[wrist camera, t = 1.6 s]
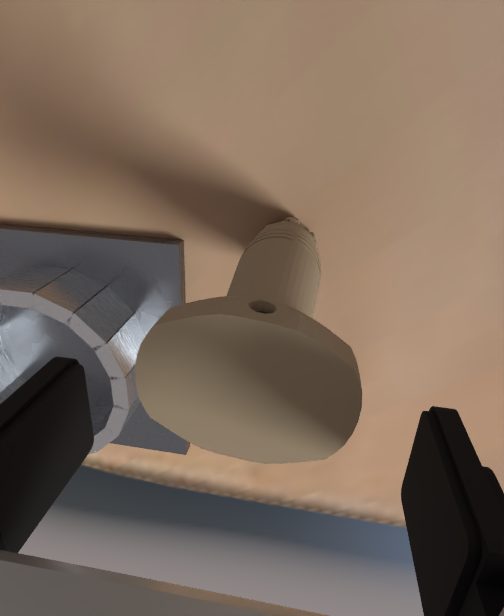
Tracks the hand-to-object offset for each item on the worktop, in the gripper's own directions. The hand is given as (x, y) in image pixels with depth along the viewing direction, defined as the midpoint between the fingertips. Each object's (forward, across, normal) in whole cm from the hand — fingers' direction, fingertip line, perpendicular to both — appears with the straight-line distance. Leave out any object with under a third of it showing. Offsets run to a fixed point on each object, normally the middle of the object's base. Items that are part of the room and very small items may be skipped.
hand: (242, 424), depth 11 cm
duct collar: (+16, +15, +8) cm, 23 cm away
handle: (+16, 0, -1) cm, 16 cm away
